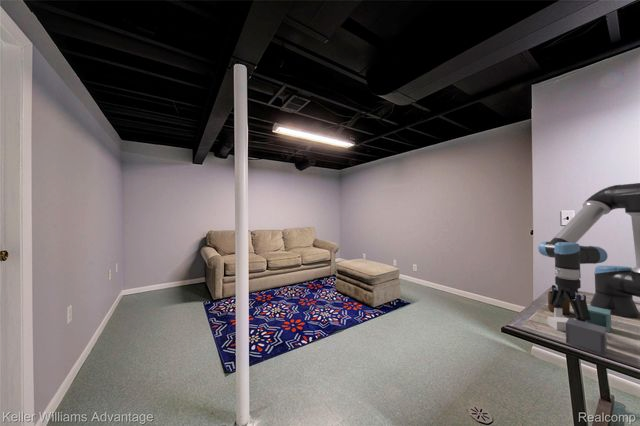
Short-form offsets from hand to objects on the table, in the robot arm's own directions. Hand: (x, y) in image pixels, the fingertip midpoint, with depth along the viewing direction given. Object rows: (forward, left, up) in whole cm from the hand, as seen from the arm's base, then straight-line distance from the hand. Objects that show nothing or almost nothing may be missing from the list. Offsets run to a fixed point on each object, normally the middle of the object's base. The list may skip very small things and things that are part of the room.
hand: (568, 327), depth 98 cm
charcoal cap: (+5, +14, 0) cm, 14 cm away
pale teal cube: (-13, -5, 0) cm, 14 cm away
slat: (0, 0, -1) cm, 1 cm away
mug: (-8, -17, -1) cm, 19 cm away
